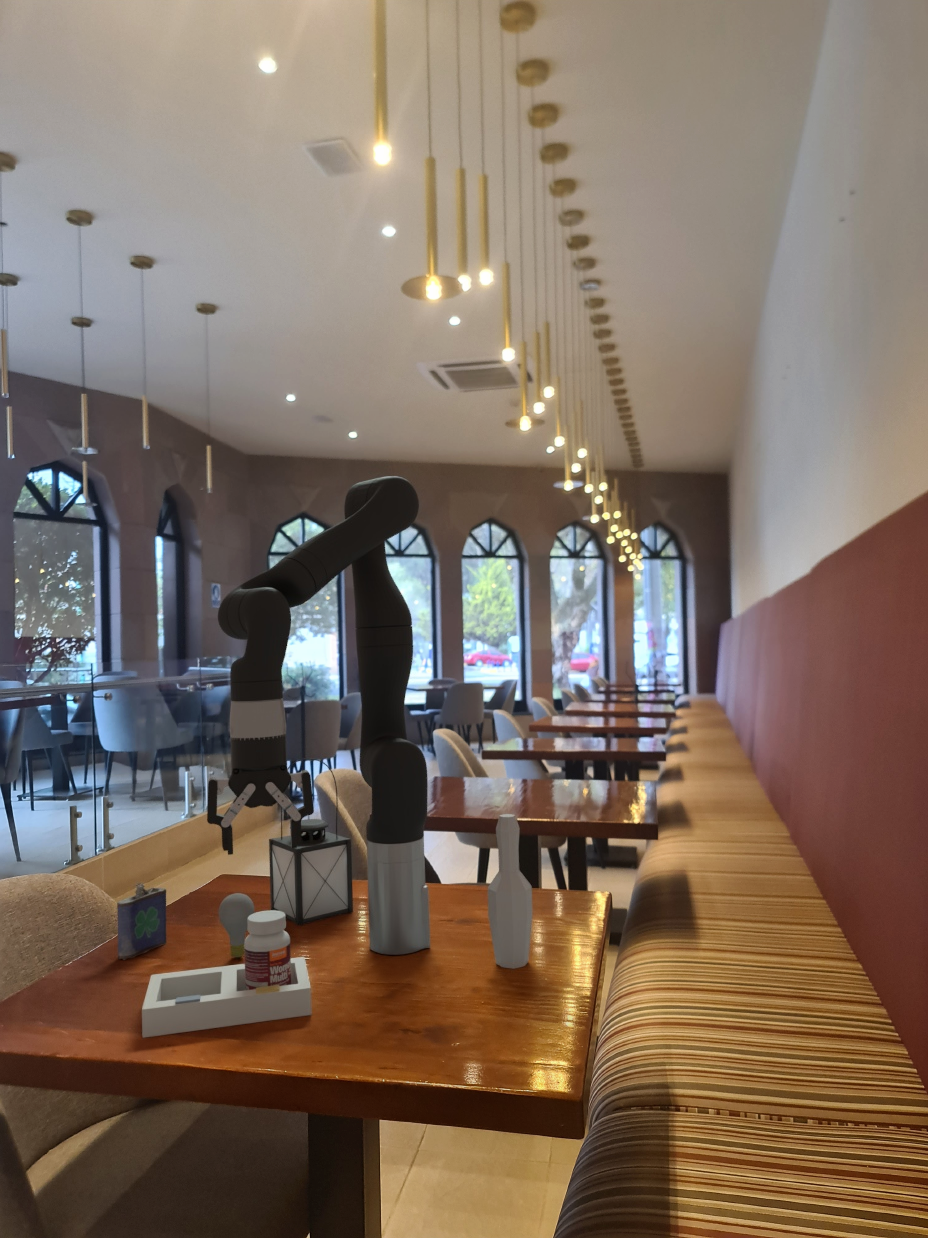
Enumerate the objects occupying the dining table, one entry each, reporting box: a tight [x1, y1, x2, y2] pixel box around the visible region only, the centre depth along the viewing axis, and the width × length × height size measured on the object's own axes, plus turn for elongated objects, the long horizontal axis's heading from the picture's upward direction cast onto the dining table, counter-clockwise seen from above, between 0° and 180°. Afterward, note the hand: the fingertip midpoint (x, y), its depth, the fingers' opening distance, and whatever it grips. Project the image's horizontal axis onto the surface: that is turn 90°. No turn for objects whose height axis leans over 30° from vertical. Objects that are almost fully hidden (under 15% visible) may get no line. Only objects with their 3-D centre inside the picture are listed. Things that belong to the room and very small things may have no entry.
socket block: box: [141, 956, 312, 1039], centre depth 118 cm, size 21×12×4 cm, turn 104°
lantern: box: [268, 757, 354, 926], centre depth 160 cm, size 11×11×28 cm
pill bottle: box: [244, 909, 291, 990], centre depth 120 cm, size 6×6×11 cm
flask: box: [116, 882, 167, 961], centre depth 142 cm, size 9×3×11 cm, turn 151°
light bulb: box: [218, 892, 255, 959], centre depth 137 cm, size 6×6×10 cm
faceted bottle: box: [487, 813, 533, 970], centre depth 131 cm, size 6×6×22 cm
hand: (262, 850), depth 120 cm, fingers open, 8 cm apart
